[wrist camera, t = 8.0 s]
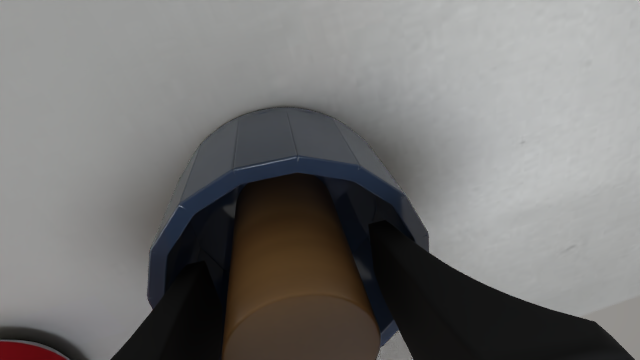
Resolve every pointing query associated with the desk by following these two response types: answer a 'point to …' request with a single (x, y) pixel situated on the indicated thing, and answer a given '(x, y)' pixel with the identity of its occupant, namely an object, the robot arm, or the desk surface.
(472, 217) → the desk surface
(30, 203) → the desk surface
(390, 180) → the cup
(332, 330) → the brown cylinder
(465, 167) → the desk surface
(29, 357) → the beverage can
